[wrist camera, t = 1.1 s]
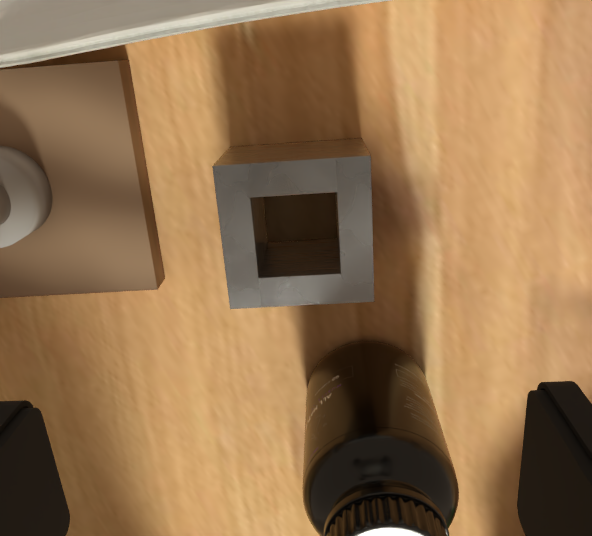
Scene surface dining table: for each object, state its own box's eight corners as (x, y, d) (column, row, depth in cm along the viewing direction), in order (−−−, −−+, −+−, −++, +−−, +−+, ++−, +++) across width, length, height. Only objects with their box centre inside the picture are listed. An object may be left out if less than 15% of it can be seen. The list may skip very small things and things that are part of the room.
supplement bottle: (296, 345, 31) (284, 508, 20) (419, 328, 31) (478, 486, 20) (316, 445, 34) (315, 641, 23) (431, 432, 33) (489, 625, 22)
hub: (365, 262, 29) (374, 301, 25) (244, 268, 30) (230, 308, 25) (361, 138, 27) (370, 155, 23) (230, 146, 28) (212, 165, 23)
